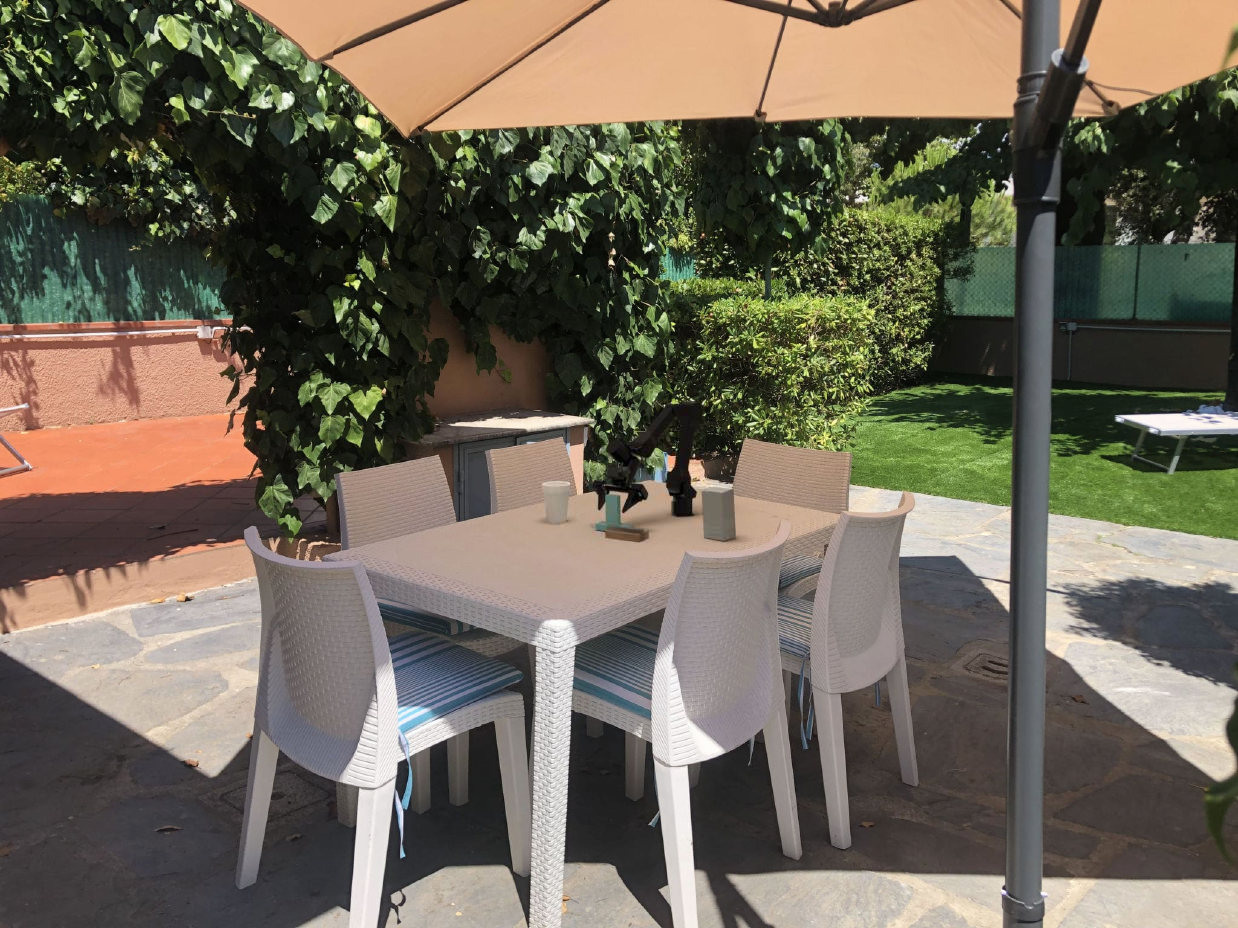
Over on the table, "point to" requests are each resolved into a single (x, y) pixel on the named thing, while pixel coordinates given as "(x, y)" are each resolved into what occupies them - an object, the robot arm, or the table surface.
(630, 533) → the board
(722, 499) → the skincare box
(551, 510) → the foam cup
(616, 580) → the table surface
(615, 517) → the teal t-shaped block
